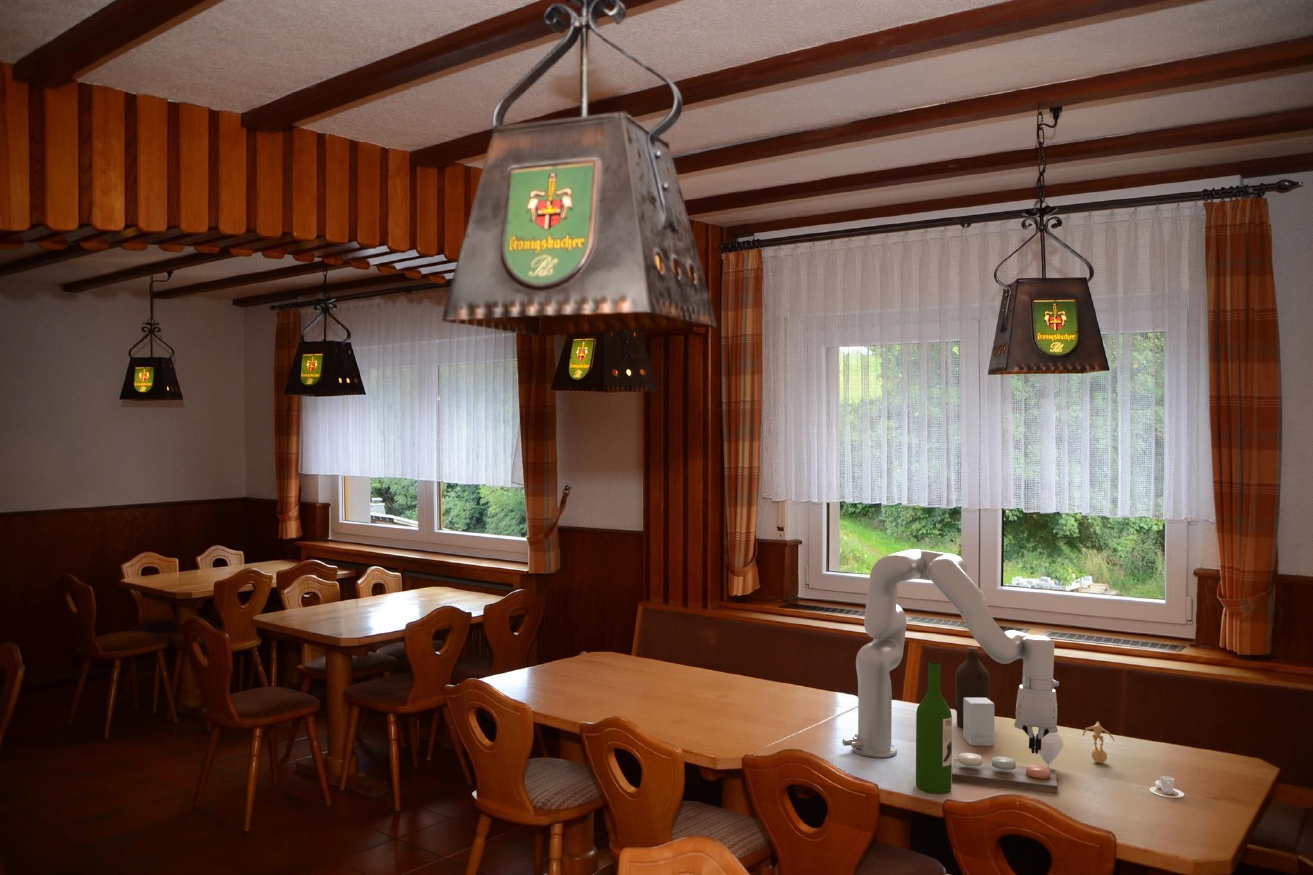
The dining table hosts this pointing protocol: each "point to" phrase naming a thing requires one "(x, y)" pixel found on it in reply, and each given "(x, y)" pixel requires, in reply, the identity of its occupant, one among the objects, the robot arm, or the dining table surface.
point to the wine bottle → (933, 738)
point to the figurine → (1100, 754)
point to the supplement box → (978, 721)
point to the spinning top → (1050, 747)
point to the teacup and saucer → (1166, 787)
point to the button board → (1002, 777)
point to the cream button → (970, 759)
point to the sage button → (1003, 763)
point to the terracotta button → (1037, 771)
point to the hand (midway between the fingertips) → (1034, 751)
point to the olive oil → (970, 682)
